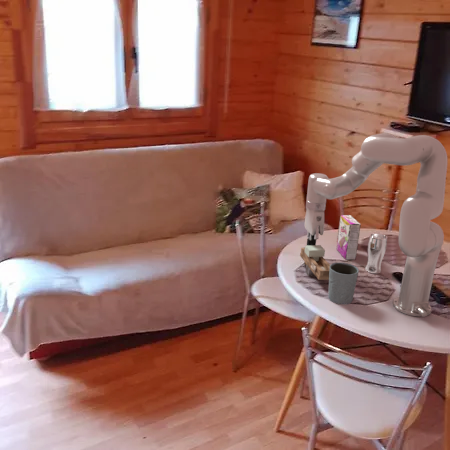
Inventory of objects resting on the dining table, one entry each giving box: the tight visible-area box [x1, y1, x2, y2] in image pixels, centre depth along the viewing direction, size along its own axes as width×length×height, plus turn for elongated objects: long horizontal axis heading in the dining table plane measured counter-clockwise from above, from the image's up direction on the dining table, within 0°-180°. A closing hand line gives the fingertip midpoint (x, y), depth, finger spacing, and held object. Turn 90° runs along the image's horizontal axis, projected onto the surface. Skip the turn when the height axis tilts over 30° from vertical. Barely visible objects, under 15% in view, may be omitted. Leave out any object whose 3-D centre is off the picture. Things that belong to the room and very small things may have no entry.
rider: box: [304, 244, 326, 261], centre depth 196 cm, size 5×6×5 cm
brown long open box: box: [299, 247, 331, 281], centre depth 195 cm, size 22×7×7 cm, turn 10°
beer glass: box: [364, 232, 388, 274], centre depth 199 cm, size 7×7×15 cm
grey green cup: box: [327, 262, 360, 305], centre depth 176 cm, size 10×10×12 cm
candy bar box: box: [336, 214, 362, 261], centre depth 212 cm, size 11×5×16 cm, turn 9°
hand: (310, 248), depth 200 cm, fingers closed
